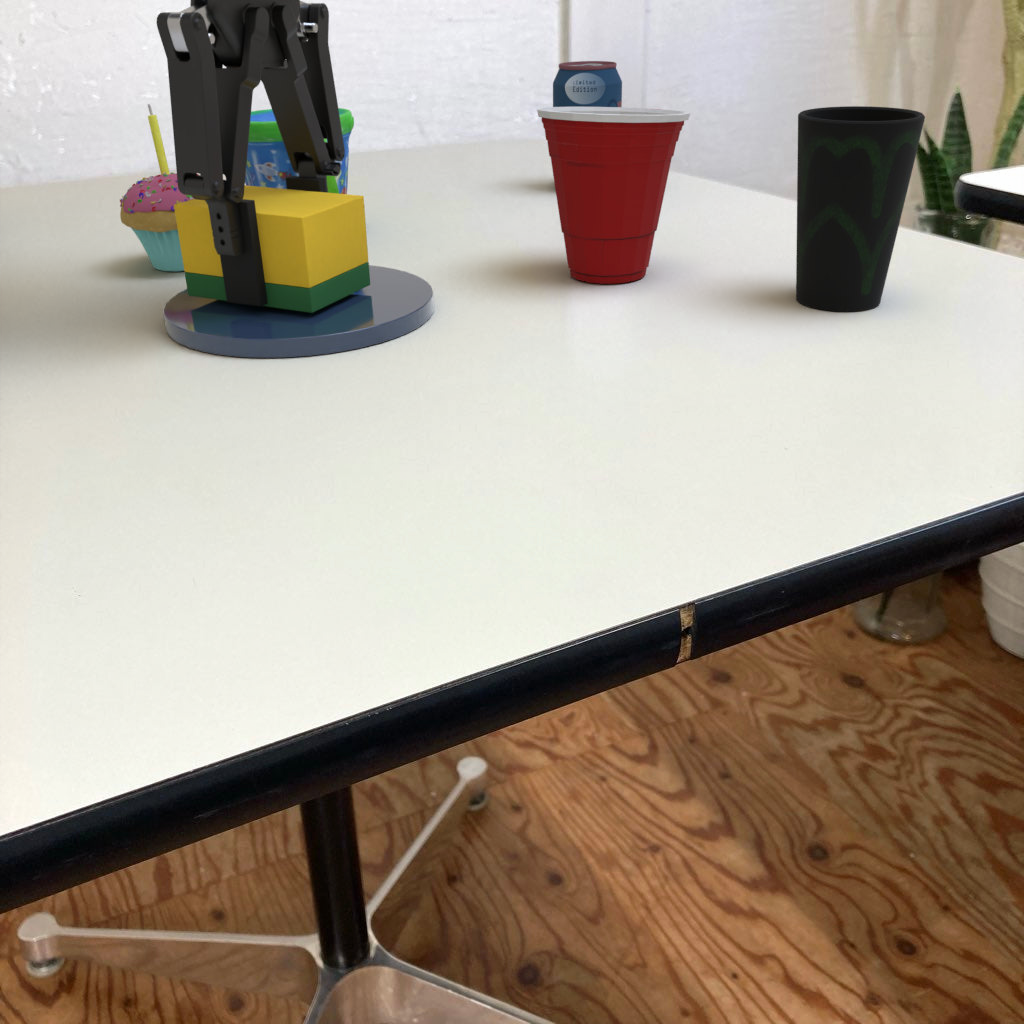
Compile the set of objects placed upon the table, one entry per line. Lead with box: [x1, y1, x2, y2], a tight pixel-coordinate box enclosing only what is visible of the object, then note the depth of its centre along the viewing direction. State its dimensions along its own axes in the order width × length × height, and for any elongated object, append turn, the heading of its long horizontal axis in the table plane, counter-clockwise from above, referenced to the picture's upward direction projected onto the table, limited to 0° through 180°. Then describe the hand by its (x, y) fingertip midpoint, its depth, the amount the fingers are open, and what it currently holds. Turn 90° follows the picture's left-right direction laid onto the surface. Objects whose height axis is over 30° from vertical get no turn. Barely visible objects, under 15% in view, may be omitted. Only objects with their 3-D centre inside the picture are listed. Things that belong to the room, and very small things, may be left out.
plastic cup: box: [536, 106, 691, 285], centre depth 76 cm, size 11×11×12 cm
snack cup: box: [245, 107, 355, 194], centre depth 90 cm, size 16×10×10 cm
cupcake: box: [119, 103, 200, 272], centre depth 81 cm, size 9×8×12 cm
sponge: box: [174, 184, 370, 313], centre depth 69 cm, size 10×7×6 cm
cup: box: [795, 105, 926, 313], centre depth 68 cm, size 8×8×12 cm
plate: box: [162, 264, 435, 359], centre depth 71 cm, size 18×18×1 cm
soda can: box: [552, 60, 623, 107], centre depth 106 cm, size 7×7×12 cm
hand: (282, 286), depth 70 cm, fingers closed on sponge, 7 cm apart
